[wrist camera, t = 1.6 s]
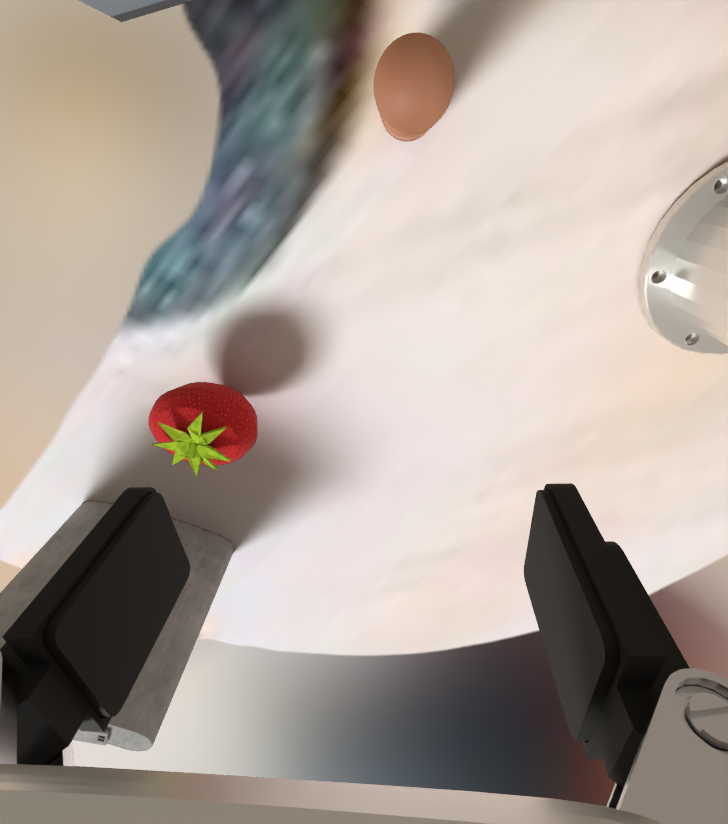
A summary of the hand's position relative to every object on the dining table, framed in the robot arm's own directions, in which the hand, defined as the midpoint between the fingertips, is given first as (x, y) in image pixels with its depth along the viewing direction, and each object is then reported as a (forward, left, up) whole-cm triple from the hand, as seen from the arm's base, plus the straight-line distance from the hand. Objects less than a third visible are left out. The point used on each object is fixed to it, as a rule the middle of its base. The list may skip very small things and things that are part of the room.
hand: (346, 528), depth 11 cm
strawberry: (+14, +6, -23) cm, 27 cm away
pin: (-3, -10, -23) cm, 25 cm away
